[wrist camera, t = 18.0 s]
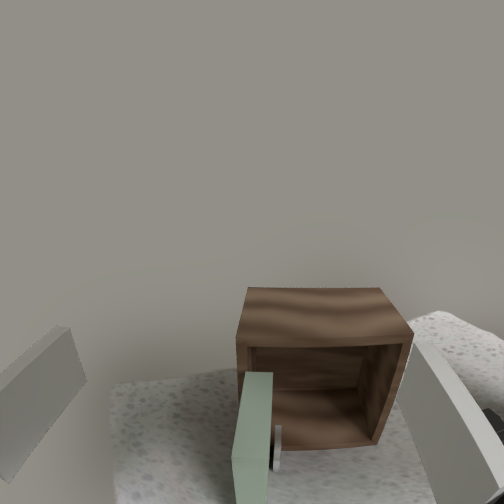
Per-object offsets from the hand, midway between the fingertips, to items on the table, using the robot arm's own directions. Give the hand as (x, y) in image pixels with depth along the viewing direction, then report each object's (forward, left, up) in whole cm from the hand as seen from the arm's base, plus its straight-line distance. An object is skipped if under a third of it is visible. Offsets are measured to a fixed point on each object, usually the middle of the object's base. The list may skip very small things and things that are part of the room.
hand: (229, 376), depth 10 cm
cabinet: (-24, -6, -30) cm, 39 cm away
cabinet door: (-11, -6, -30) cm, 32 cm away
